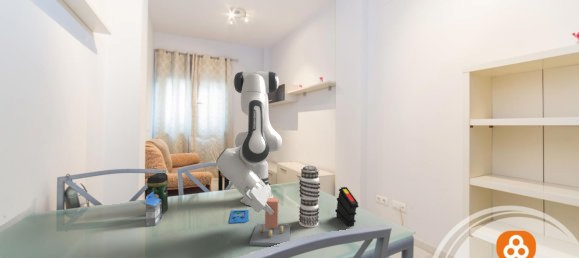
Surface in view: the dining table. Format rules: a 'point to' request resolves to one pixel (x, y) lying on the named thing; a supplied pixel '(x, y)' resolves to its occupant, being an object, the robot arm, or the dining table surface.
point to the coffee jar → (159, 188)
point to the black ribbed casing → (346, 206)
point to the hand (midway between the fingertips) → (273, 210)
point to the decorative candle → (309, 196)
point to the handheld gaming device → (238, 216)
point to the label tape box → (153, 210)
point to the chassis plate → (270, 235)
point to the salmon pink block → (272, 220)
